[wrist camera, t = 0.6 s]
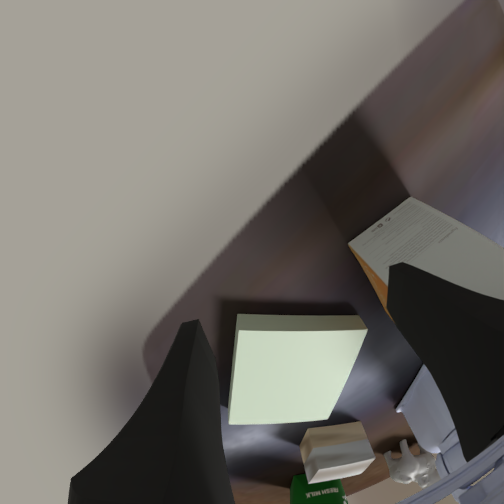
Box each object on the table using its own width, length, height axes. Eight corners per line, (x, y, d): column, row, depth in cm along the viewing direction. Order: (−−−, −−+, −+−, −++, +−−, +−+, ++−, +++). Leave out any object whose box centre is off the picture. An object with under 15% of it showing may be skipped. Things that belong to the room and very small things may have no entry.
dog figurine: (415, 453, 41) (434, 493, 31) (376, 456, 37) (395, 505, 27) (435, 437, 39) (456, 478, 29) (399, 438, 35) (422, 489, 26)
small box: (344, 242, 20) (455, 372, 9) (410, 193, 19) (550, 273, 8) (383, 312, 23) (463, 427, 12) (438, 269, 22) (535, 361, 11)
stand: (323, 405, 28) (327, 419, 26) (227, 408, 27) (228, 424, 25) (358, 315, 23) (367, 329, 21) (237, 313, 22) (238, 330, 20)
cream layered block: (348, 438, 32) (361, 473, 27) (299, 445, 32) (308, 483, 26) (360, 420, 31) (375, 457, 25) (307, 427, 30) (319, 469, 24)
